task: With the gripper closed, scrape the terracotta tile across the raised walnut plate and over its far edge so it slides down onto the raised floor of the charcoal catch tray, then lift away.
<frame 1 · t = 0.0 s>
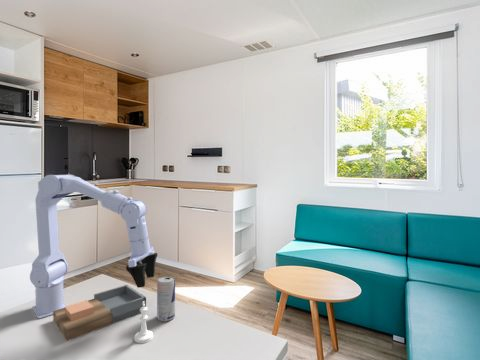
hand: (146, 281, 89), 11 cm above the table, tool pointing down, fingers open, 7 cm apart
catch tray: (119, 309, 93), on the table
energy drink: (166, 317, 88), on the table
walnut plate: (83, 322, 85), on the table
terracotta tile: (79, 313, 84), point 3 cm above the table, touching walnut plate
chess piece: (143, 338, 77), on the table
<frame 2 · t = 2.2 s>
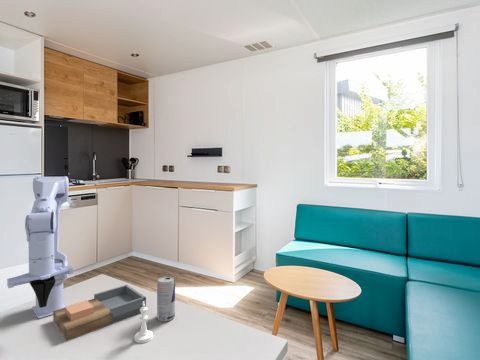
hand: (42, 305, 77), 8 cm above the table, tool pointing down, fingers closed
nothing on the table moved.
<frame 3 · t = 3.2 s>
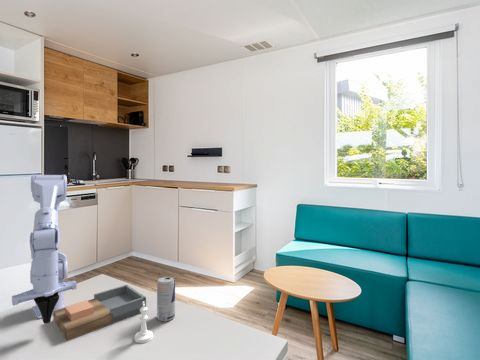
hand: (46, 321, 78), 4 cm above the table, tool pointing down, fingers closed
nothing on the table moved.
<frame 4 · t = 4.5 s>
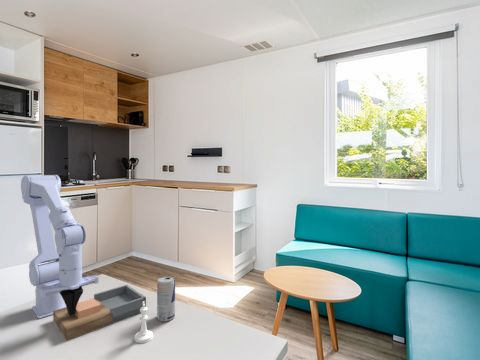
hand: (71, 313, 82), 4 cm above the table, tool pointing down, fingers closed
terracotta tile: (86, 311, 85), point 3 cm above the table, touching gripper
everything else where it was.
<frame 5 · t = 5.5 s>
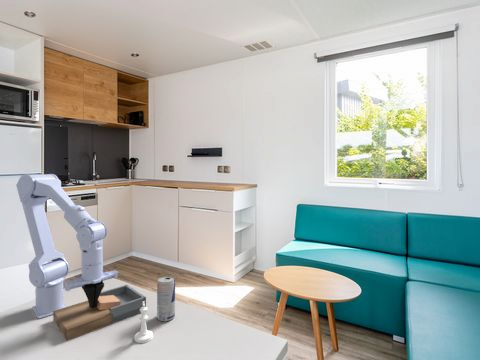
hand: (92, 306, 86), 4 cm above the table, tool pointing down, fingers closed
terracotta tile: (106, 305, 89), point 3 cm above the table, tilted 12°, touching walnut plate
everything else where it was.
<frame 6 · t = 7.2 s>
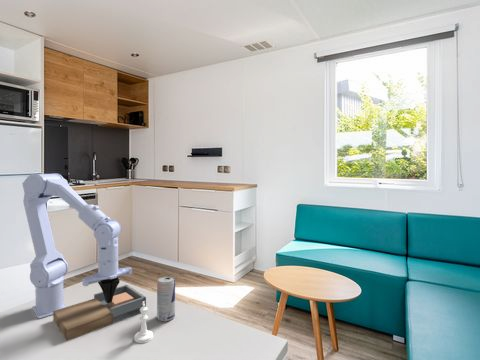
hand: (108, 301, 90), 4 cm above the table, tool pointing down, fingers closed
terracotta tile: (120, 303, 92), point 2 cm above the table, touching catch tray, gripper
everything else where it was.
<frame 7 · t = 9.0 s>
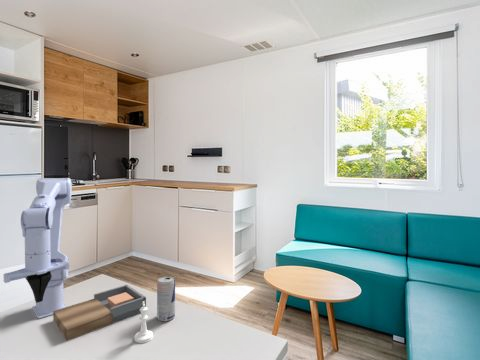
hand: (38, 300, 78), 9 cm above the table, tool pointing down, fingers closed
terracotta tile: (120, 303, 92), point 2 cm above the table, touching catch tray
everything else where it was.
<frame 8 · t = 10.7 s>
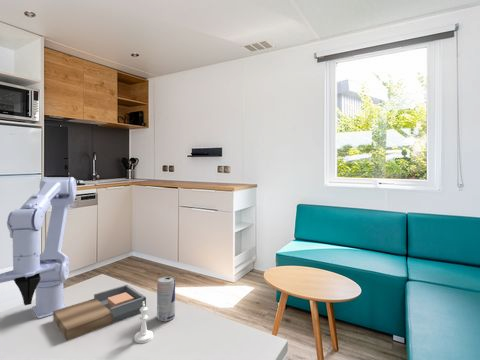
hand: (27, 303, 76), 9 cm above the table, tool pointing down, fingers closed
nothing on the table moved.
at the end: terracotta tile inside the target area on the catch tray (1.6 cm from its centre), point 1.8 cm above the catch tray's base; terracotta tile tilted 0° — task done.
